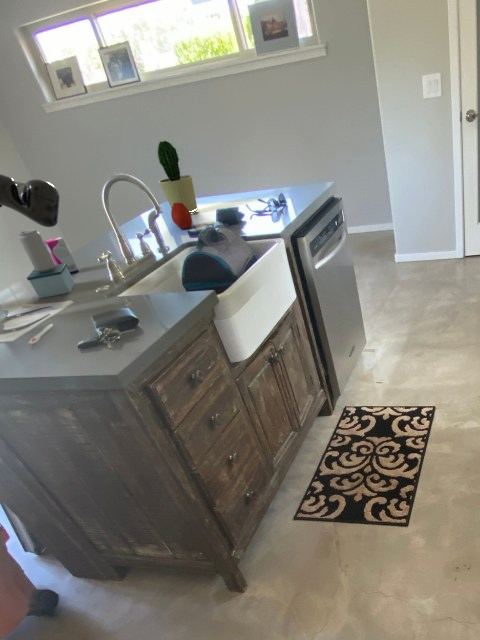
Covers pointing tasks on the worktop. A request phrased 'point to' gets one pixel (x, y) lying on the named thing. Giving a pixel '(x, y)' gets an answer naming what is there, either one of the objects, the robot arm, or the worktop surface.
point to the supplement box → (61, 253)
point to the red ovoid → (181, 216)
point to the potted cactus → (175, 178)
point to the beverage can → (36, 250)
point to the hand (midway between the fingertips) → (12, 194)
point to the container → (52, 281)
